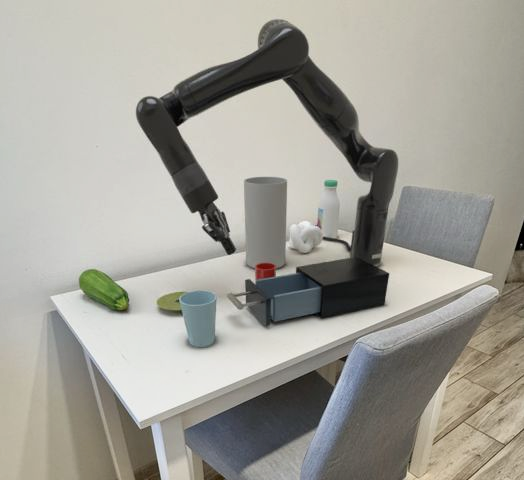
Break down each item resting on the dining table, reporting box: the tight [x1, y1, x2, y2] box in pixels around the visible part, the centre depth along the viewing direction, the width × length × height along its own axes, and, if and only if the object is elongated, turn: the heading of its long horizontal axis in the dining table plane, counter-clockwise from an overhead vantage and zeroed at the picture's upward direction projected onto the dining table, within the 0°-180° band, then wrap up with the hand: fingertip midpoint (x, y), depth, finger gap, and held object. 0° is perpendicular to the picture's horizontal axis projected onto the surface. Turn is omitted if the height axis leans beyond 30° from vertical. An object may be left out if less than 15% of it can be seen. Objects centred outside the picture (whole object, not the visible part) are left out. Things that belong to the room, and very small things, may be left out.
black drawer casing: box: [295, 257, 390, 320], centre depth 107 cm, size 19×14×9 cm
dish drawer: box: [226, 272, 322, 327], centre depth 101 cm, size 23×12×7 cm, turn 114°
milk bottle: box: [316, 179, 341, 239], centre depth 154 cm, size 8×8×20 cm
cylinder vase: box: [243, 176, 288, 269], centre depth 128 cm, size 12×12×25 cm
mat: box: [156, 291, 188, 311], centre depth 107 cm, size 11×11×2 cm
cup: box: [179, 289, 218, 348], centre depth 90 cm, size 8×8×10 cm
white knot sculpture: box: [288, 220, 323, 254], centre depth 143 cm, size 11×12×9 cm
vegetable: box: [78, 268, 130, 311], centre depth 108 cm, size 7×7×20 cm
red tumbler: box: [254, 263, 277, 285], centre depth 112 cm, size 5×5×8 cm
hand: (232, 252), depth 104 cm, fingers closed
